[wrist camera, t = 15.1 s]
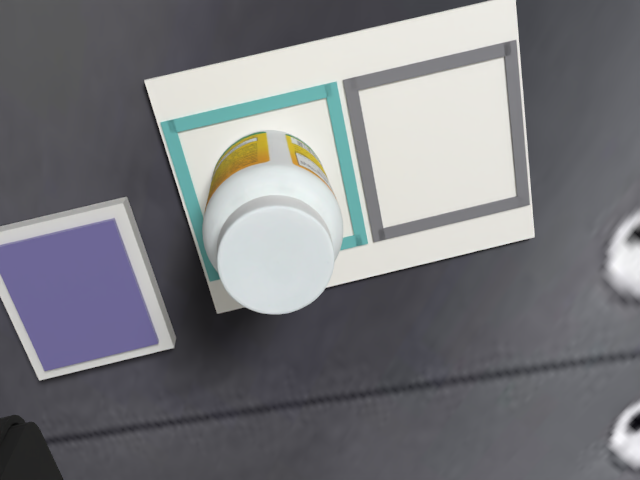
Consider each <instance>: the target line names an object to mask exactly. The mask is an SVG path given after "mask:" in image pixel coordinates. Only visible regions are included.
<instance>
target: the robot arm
mask: <svg viewBox="0 0 640 480" xmlns="http://www.w3.org/2000/svg"><path fill="white" fill-rule="evenodd" d="M0 480H63V478H62V475H61V473H60V471H59V469H58V467H57V465H56V463H55V461H54V459H53V456H52V454H51V452H50V450H49V448H48V446H47V444H46V442H45V439H44V437H43V435H42V433H41V431H40V429H39V427H38V426H37V425H36V424H35V423H34V422H28V423H25V421H24V420H23V419H22V418H21V417H20V416H17V415H12V416H8V417H4V418H0Z"/></svg>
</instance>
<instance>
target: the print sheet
mask: <svg viewBox="0 0 640 480" xmlns="http://www.w3.org/2000/svg"><path fill="white" fill-rule="evenodd" d="M144 82H145V85H146V88H147V92H148V95H149V98H150V101H151V104H152V108H153V111H154V114H155V117H156V120H157V124H158V127H159V130H160V133H161V136H162V140H163V143H164V146H165V149H166V152H167V155H168V159H169V162H170V165H171V168H172V171H173V175H174V178H175V181H176V184H177V187H178V191H179V194H180V197H181V200H182V203H183V207H184V210H185V213H186V216H187V219H188V222H189V226H190V229H191V232H192V235H193V238H194V242H195V245H196V248H197V251H198V254H199V258H200V261H201V264H202V267H203V270H204V274H205V277H206V280H207V283H208V286H209V290H210V293H211V296H212V299H213V302H214V305H215V309H216V312H217V314H219V313H223V312H227V311H231V310H236V309H240V308H244V306H242V305H241V304H239V303H238V302H237V301H236V300H234V299H233V298H232V297H231V296H230V295H229V293H228V292H227V291H226V290H225V288H224V286H223V284H222V282H221V280H220V277H219V274H218V272H217V271H216V270H215V268H214V267H213V265H212V263H211V262H210V260H209V258H208V256H207V253H206V250H205V247H204V242H203V234H202V225H203V217H204V212H205V208H206V203H207V199H208V195H209V191H210V185H211V181H212V176H213V172H214V169H215V166H216V164H217V162H218V160H219V158H220V156H221V155H222V154H223V152H224V151H225V150H226V149H227V148H228V147H229V146H230V145H231V144H232V143H233V142H235V141H236V140H238V139H240V138H241V137H243V136H245V135H247V134H249V133H252V132H256V131H261V130H277V131H283V132H286V133H289V134H292V135H294V136H296V137H298V138H299V139H301V140H302V141H304V142H305V143H306V144H307V145H308V146H309V147H310V148H311V149H312V150H313V151H314V152H315V153H316V155H317V157H318V158H319V160H320V162H321V164H322V166H323V168H324V171H325V173H326V175H327V178H328V180H329V183H330V185H331V187H332V189H333V192H334V194H335V196H336V199H337V201H338V204H339V207H340V209H341V213H342V218H343V240H342V245H341V249H340V251H339V254H338V256H337V258H336V260H335V262H334V269H333V273H332V276H331V279H330V281H329V283H328V284H327V286H326V288H327V287H331V286H335V285H339V284H343V283H347V282H351V281H355V280H360V279H364V278H368V277H372V276H376V275H380V274H384V273H389V272H393V271H397V270H401V269H405V268H409V267H413V266H417V265H422V264H426V263H430V262H434V261H438V260H442V259H446V258H451V257H455V256H459V255H463V254H467V253H471V252H475V251H480V250H484V249H488V248H492V247H496V246H500V245H504V244H508V243H513V242H517V241H521V240H525V239H529V238H533V237H535V235H534V223H533V211H532V198H531V186H530V173H529V161H528V148H527V136H526V124H525V111H524V99H523V86H522V74H521V61H520V49H519V37H518V24H517V12H516V0H490V1H486V2H482V3H477V4H473V5H469V6H464V7H460V8H456V9H451V10H447V11H443V12H438V13H434V14H429V15H425V16H421V17H416V18H412V19H408V20H403V21H399V22H395V23H390V24H386V25H382V26H377V27H373V28H369V29H364V30H360V31H356V32H351V33H347V34H343V35H338V36H334V37H329V38H325V39H321V40H316V41H312V42H308V43H303V44H299V45H295V46H290V47H286V48H282V49H277V50H273V51H269V52H264V53H260V54H256V55H251V56H247V57H243V58H238V59H234V60H229V61H225V62H221V63H216V64H212V65H208V66H203V67H199V68H195V69H190V70H186V71H182V72H177V73H173V74H169V75H164V76H160V77H156V78H151V79H147V80H145V81H144Z"/></svg>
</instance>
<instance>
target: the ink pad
mask: <svg viewBox="0 0 640 480" xmlns="http://www.w3.org/2000/svg"><path fill="white" fill-rule="evenodd" d="M0 297H1V299H2V301H3V303H4V306H5V308H6V310H7V312H8V314H9V316H10V319H11V321H12V323H13V325H14V327H15V329H16V331H17V334H18V336H19V338H20V340H21V342H22V344H23V347H24V349H25V351H26V353H27V355H28V357H29V360H30V362H31V364H32V366H33V368H34V370H35V372H36V375H37V377H38V379H39V381H40V380H44V379H48V378H52V377H56V376H60V375H64V374H68V373H73V372H77V371H81V370H85V369H89V368H93V367H97V366H101V365H106V364H110V363H114V362H118V361H122V360H126V359H130V358H134V357H138V356H143V355H147V354H151V353H155V352H159V351H163V350H167V349H171V348H174V346H175V341H176V336H175V333H174V330H173V327H172V324H171V322H170V319H169V316H168V313H167V310H166V307H165V304H164V302H163V299H162V296H161V293H160V290H159V287H158V284H157V281H156V279H155V276H154V273H153V270H152V267H151V264H150V261H149V259H148V256H147V253H146V250H145V247H144V244H143V241H142V238H141V236H140V233H139V230H138V227H137V224H136V221H135V218H134V216H133V213H132V210H131V207H130V204H129V201H128V198H127V197H123V198H119V199H115V200H110V201H106V202H102V203H98V204H93V205H89V206H85V207H81V208H76V209H72V210H68V211H64V212H59V213H55V214H51V215H47V216H42V217H38V218H34V219H30V220H25V221H21V222H17V223H13V224H8V225H4V226H0Z"/></svg>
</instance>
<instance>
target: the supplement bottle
mask: <svg viewBox="0 0 640 480" xmlns="http://www.w3.org/2000/svg"><path fill="white" fill-rule="evenodd" d="M202 234H203V242H204V247H205V250H206V253H207V256H208V258H209V260H210V262H211V263H212V265H213V267H214V268H215V270H216V271H217V272H218V274H219V277H220V280H221V282H222V284H223V286H224V288H225V290H226V291H227V292H228V293H229V295H230V296H231V297H232V298H233V299H234V300H236V301H237V302H238V303H239V304H241V305H242V306H244V307H246V308H248V309H250V310H253V311H255V312H259V313H264V314H285V313H290V312H294V311H296V310H299V309H301V308H303V307H305V306H307V305H309V304H310V303H312V302H313V301H314V300H315V299H316V298H318V297H319V295H320V294H321V293H322V292H323V291H324V289H325V288H326V286H327V284H328V283H329V281H330V279H331V276H332V273H333V269H334V262H335V260H336V258H337V256H338V254H339V251H340V249H341V245H342V240H343V218H342V213H341V209H340V207H339V204H338V201H337V199H336V196H335V194H334V192H333V189H332V187H331V185H330V183H329V180H328V178H327V175H326V173H325V171H324V168H323V166H322V164H321V162H320V160H319V158H318V157H317V155H316V153H315V152H314V151H313V150H312V149H311V148H310V147H309V146H308V145H307V144H306V143H305V142H304V141H302V140H301V139H299V138H298V137H296V136H294V135H292V134H289V133H286V132H283V131H277V130H261V131H256V132H252V133H249V134H247V135H245V136H243V137H241V138H240V139H238V140H236V141H235V142H233V143H232V144H231V145H230V146H229V147H228V148H227V149H226V150H225V151H224V152H223V154H222V155H221V156H220V158H219V160H218V162H217V164H216V166H215V169H214V172H213V176H212V181H211V185H210V191H209V195H208V199H207V203H206V208H205V212H204V217H203V225H202Z"/></svg>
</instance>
